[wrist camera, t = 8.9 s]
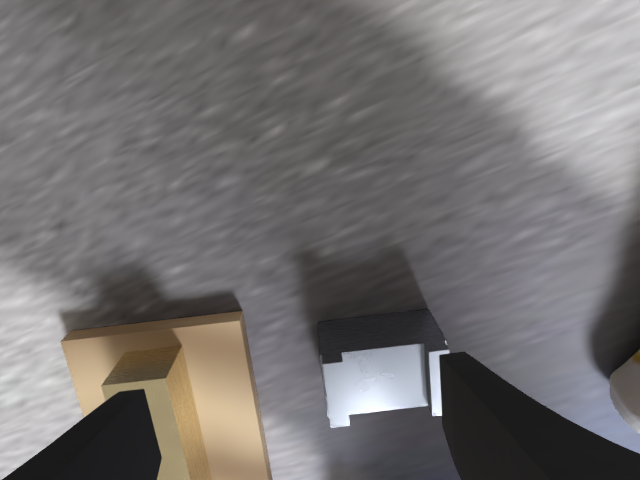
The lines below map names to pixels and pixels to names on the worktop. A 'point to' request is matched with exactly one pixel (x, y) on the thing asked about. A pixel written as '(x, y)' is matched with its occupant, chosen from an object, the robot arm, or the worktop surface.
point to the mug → (627, 391)
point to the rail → (165, 408)
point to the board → (205, 376)
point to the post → (381, 364)
